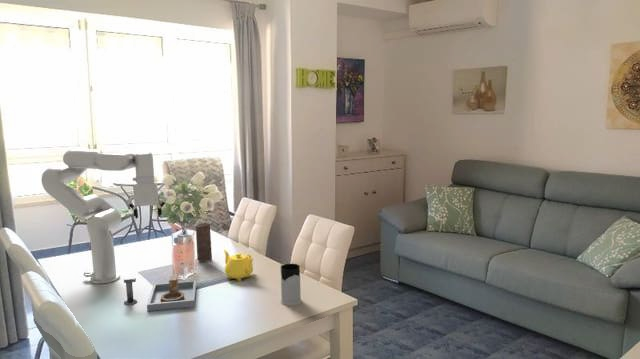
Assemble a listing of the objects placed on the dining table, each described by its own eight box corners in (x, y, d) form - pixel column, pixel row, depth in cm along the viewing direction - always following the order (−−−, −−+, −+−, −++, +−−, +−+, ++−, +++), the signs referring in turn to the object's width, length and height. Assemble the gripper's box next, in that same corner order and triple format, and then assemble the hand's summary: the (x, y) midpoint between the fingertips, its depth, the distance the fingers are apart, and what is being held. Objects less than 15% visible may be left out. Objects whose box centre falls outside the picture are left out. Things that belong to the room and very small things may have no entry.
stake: (123, 305, 194) (121, 281, 193) (125, 300, 199) (123, 277, 198) (136, 304, 195) (134, 280, 194) (138, 299, 200) (136, 276, 199)
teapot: (267, 276, 225) (266, 253, 223) (244, 286, 213) (243, 261, 212) (237, 267, 237) (236, 245, 235) (214, 276, 225) (213, 253, 224)
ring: (160, 305, 193) (159, 289, 192) (163, 291, 207) (162, 276, 206) (183, 303, 195) (182, 287, 194) (185, 289, 209) (184, 274, 208)
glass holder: (285, 307, 191) (284, 271, 189) (272, 295, 203) (271, 261, 201) (305, 303, 195) (304, 268, 192) (291, 291, 207) (290, 258, 205)
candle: (208, 263, 243) (206, 225, 240) (194, 263, 245) (192, 225, 241) (214, 258, 251) (212, 221, 247) (201, 258, 252) (199, 221, 249)
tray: (147, 312, 188) (146, 304, 188) (154, 290, 210) (153, 284, 209) (194, 307, 192) (194, 300, 192) (196, 286, 213) (196, 280, 213)
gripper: (123, 182, 207) (126, 220, 210) (164, 180, 211) (167, 218, 214) (126, 179, 215) (129, 216, 218) (166, 177, 218) (168, 214, 221)
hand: (148, 217), depth 216 cm, fingers open, 9 cm apart
